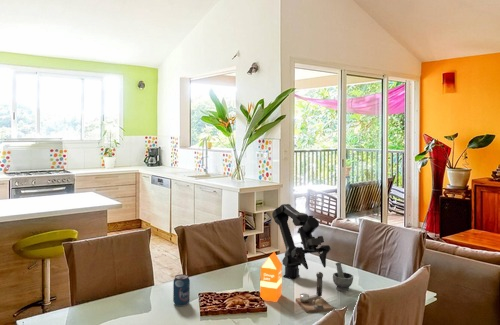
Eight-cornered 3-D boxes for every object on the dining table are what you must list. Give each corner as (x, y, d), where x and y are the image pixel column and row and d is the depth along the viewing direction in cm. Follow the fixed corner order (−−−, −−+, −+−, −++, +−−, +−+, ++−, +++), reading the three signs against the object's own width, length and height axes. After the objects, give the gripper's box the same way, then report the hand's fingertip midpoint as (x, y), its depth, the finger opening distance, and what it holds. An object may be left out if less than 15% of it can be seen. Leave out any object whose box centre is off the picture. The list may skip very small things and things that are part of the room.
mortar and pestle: (356, 292, 192) (357, 267, 191) (338, 293, 189) (339, 268, 189) (344, 284, 203) (345, 260, 202) (327, 285, 200) (328, 261, 200)
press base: (295, 301, 180) (295, 290, 180) (320, 298, 183) (320, 288, 183) (307, 313, 167) (307, 302, 167) (333, 310, 171) (334, 299, 170)
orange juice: (281, 294, 187) (282, 252, 186) (276, 302, 179) (277, 257, 178) (265, 292, 190) (266, 250, 188) (259, 299, 181) (260, 255, 180)
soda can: (182, 308, 170) (182, 280, 170) (169, 304, 174) (170, 277, 173) (192, 302, 176) (193, 275, 175) (180, 299, 180) (180, 272, 179)
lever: (298, 300, 177) (298, 273, 177) (318, 295, 183) (319, 270, 182) (303, 303, 174) (304, 276, 173) (324, 298, 179) (325, 273, 179)
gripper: (295, 231, 187) (305, 263, 178) (330, 228, 193) (341, 259, 185) (287, 241, 195) (295, 272, 187) (321, 239, 202) (330, 268, 193)
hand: (316, 268), depth 188 cm, fingers open, 9 cm apart
